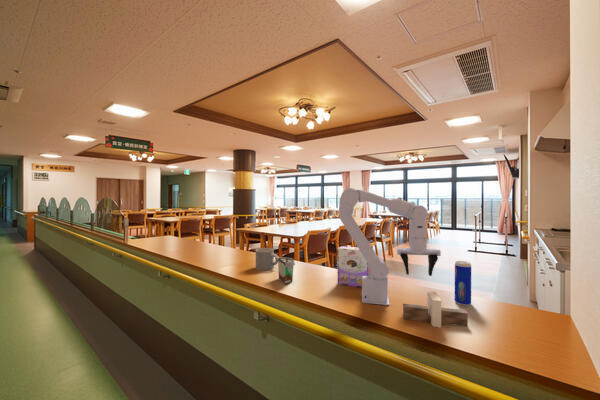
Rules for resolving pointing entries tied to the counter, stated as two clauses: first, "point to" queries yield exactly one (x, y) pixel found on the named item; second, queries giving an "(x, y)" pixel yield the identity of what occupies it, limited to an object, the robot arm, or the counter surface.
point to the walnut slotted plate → (422, 314)
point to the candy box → (351, 266)
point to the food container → (285, 269)
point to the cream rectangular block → (434, 308)
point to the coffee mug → (265, 259)
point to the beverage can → (463, 283)
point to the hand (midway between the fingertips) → (418, 274)
